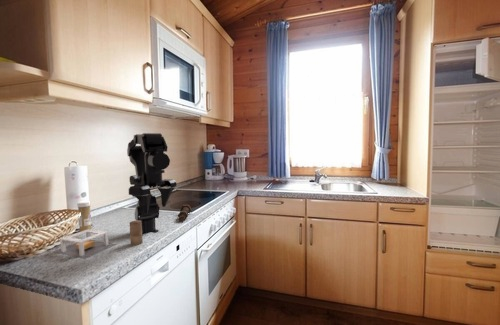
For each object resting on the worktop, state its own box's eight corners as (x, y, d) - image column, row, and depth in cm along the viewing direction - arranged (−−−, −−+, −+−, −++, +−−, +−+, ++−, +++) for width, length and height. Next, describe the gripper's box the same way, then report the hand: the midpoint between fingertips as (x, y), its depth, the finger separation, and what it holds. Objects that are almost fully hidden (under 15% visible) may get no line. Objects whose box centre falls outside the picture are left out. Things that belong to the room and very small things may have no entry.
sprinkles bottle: (90, 233, 105) (89, 202, 104) (78, 235, 103) (76, 203, 102) (92, 230, 109) (91, 199, 108) (80, 231, 108) (78, 201, 106)
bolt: (180, 226, 119) (184, 216, 133) (189, 220, 119) (193, 211, 134) (173, 216, 118) (179, 207, 133) (182, 210, 118) (187, 202, 133)
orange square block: (87, 243, 90) (86, 239, 90) (94, 245, 89) (94, 241, 89) (75, 248, 87) (75, 244, 86) (84, 249, 85) (83, 245, 85)
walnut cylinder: (136, 243, 94) (135, 219, 93) (145, 244, 92) (144, 220, 92) (128, 247, 90) (127, 223, 89) (136, 248, 89) (135, 224, 88)
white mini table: (86, 241, 96) (85, 227, 96) (117, 246, 91) (116, 232, 90) (52, 254, 85) (51, 238, 85) (85, 261, 79) (84, 244, 79)
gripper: (154, 165, 102) (155, 202, 103) (115, 169, 85) (117, 214, 86) (176, 165, 98) (178, 204, 100) (140, 170, 81) (142, 217, 82)
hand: (155, 209), depth 92 cm, fingers open, 9 cm apart
